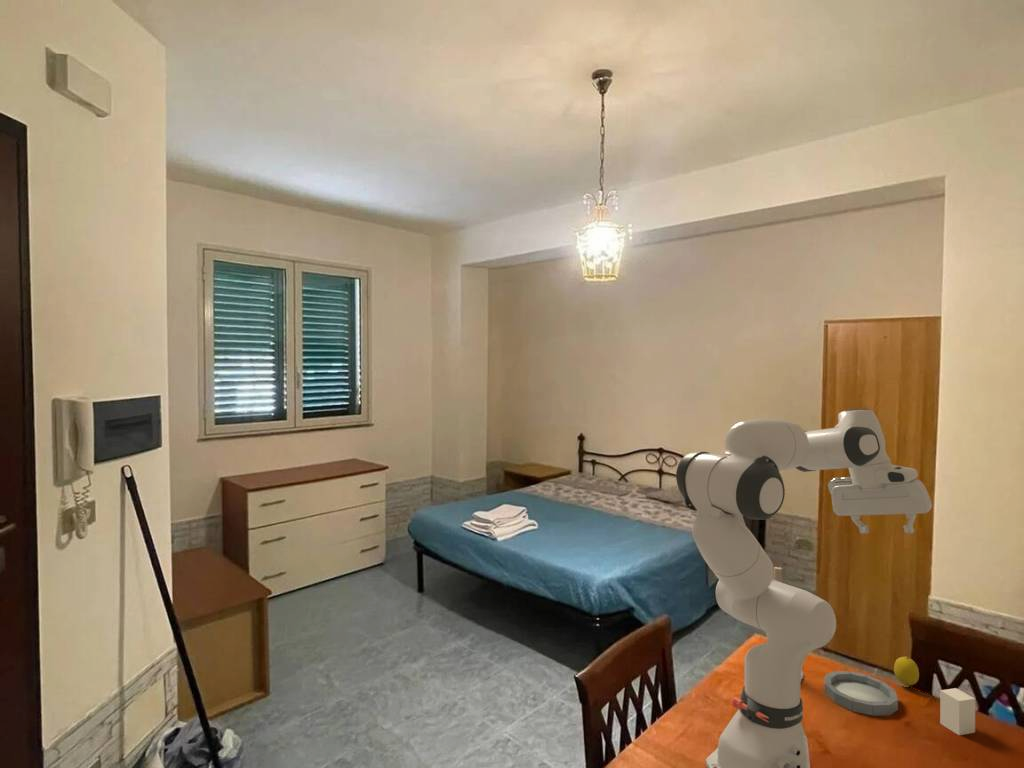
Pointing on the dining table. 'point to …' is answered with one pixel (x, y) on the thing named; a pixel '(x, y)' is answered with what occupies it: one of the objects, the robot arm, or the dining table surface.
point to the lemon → (906, 671)
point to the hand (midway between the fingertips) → (886, 533)
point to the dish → (861, 693)
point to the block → (957, 711)
